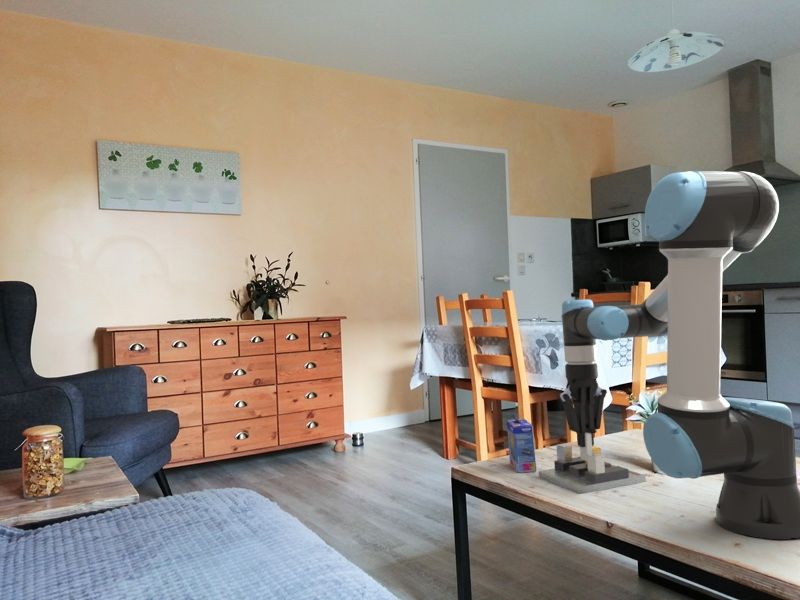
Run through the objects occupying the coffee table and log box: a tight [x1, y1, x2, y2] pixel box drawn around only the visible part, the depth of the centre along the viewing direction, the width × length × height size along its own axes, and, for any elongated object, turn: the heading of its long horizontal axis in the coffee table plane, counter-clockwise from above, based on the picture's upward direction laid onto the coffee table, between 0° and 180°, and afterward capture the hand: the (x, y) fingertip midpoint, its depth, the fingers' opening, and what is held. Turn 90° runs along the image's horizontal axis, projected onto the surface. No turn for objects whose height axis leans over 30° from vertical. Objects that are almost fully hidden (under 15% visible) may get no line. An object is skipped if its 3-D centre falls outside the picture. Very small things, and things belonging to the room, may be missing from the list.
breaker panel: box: [538, 443, 647, 495], centre depth 145 cm, size 16×19×8 cm
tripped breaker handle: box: [585, 445, 602, 464], centre depth 146 cm, size 3×2×4 cm
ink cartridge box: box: [506, 412, 538, 474], centre depth 159 cm, size 10×6×14 cm, turn 1°
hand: (586, 459), depth 145 cm, fingers closed
